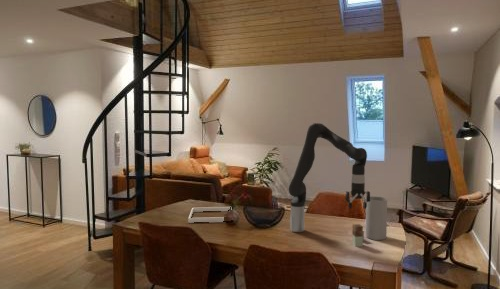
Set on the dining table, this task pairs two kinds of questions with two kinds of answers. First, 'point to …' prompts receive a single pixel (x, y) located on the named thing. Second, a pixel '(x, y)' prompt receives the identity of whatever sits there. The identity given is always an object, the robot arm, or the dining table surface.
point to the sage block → (357, 241)
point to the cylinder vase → (376, 218)
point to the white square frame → (208, 219)
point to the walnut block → (357, 230)
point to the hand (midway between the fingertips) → (357, 208)
